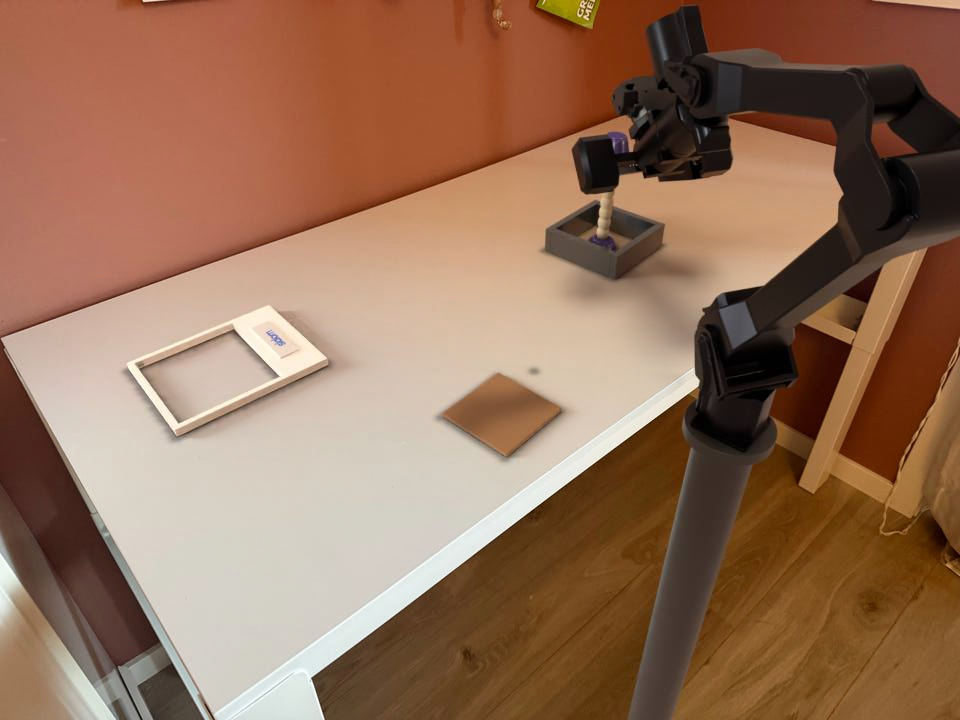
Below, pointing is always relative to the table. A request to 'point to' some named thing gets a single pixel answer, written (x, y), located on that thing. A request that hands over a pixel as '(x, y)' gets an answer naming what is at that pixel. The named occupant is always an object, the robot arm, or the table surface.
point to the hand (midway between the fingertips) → (626, 182)
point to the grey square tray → (597, 257)
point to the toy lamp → (609, 199)
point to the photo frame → (266, 338)
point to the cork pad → (502, 414)
